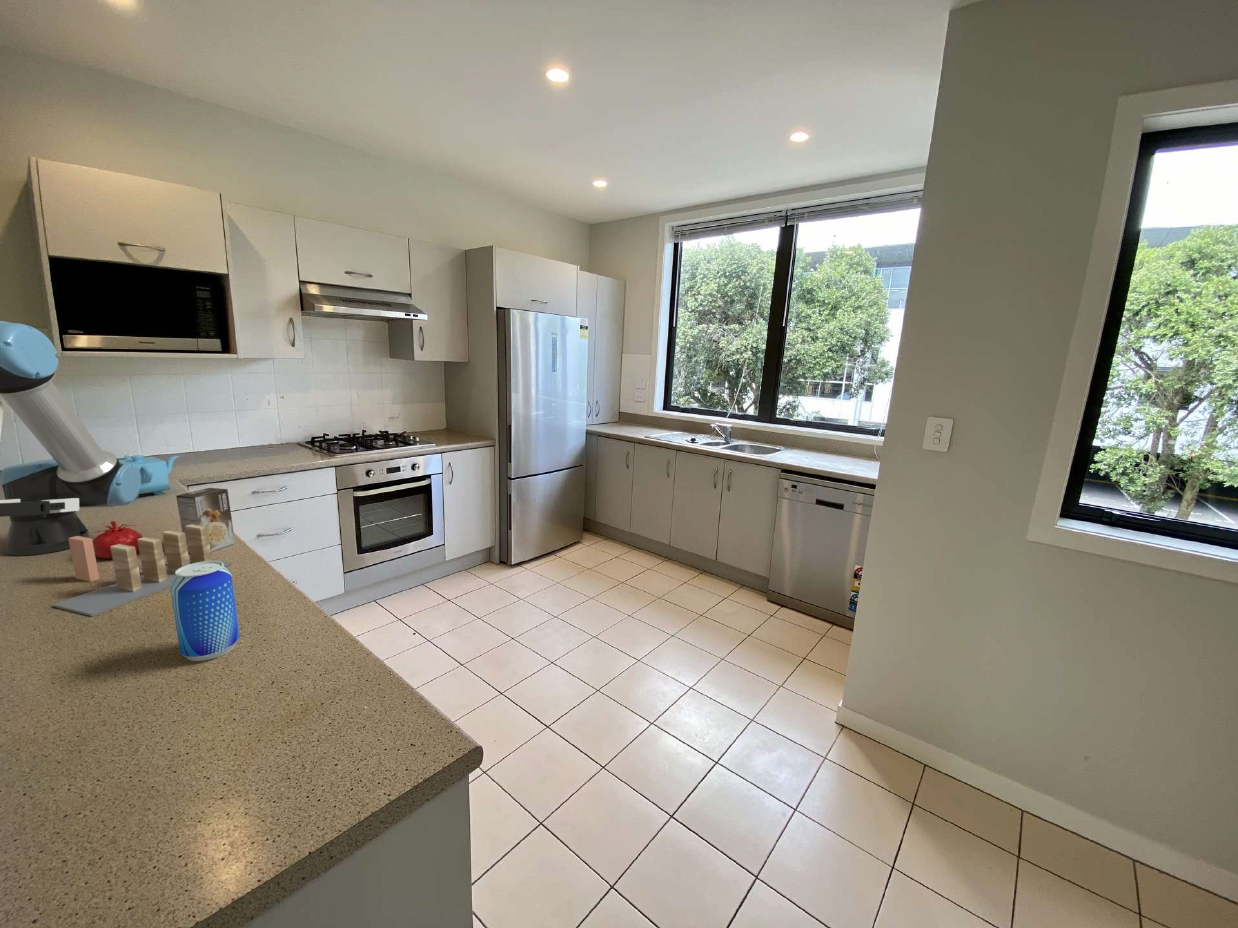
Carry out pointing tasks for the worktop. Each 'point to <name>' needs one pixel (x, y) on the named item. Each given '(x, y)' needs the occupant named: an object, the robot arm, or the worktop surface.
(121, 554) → the tile
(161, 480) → the teakettle
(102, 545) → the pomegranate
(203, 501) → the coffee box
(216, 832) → the worktop surface
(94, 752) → the worktop surface
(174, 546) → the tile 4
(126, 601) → the slate board
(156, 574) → the tile
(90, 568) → the tile
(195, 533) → the wooden block
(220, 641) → the beer can
